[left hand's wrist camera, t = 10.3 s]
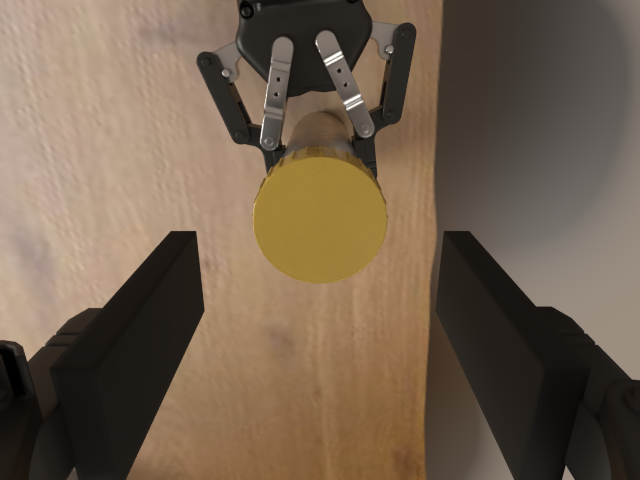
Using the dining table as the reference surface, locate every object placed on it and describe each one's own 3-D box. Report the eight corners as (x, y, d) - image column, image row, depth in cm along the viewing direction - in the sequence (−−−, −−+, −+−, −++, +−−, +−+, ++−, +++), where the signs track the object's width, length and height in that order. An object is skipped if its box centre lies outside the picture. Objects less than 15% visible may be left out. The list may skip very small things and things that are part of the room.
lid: (367, 129, 19) (372, 137, 17) (393, 247, 21) (401, 268, 19) (241, 162, 20) (232, 175, 17) (278, 275, 22) (274, 298, 19)
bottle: (340, 105, 36) (363, 149, 18) (354, 161, 38) (387, 257, 19) (284, 120, 37) (247, 180, 18) (300, 176, 38) (281, 282, 20)
